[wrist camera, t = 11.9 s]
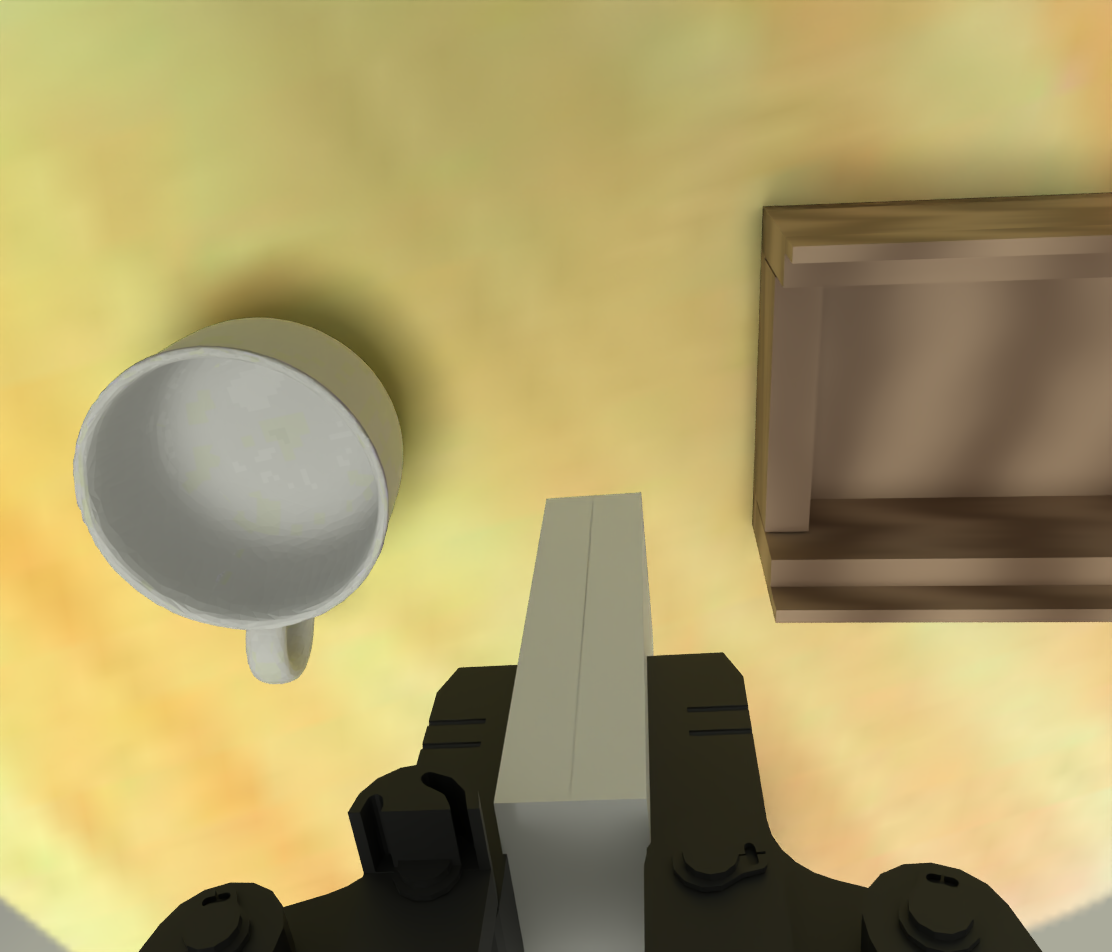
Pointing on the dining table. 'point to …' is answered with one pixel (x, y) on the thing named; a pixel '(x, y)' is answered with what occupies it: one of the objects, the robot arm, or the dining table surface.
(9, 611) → the dining table surface
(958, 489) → the box
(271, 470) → the teacup
